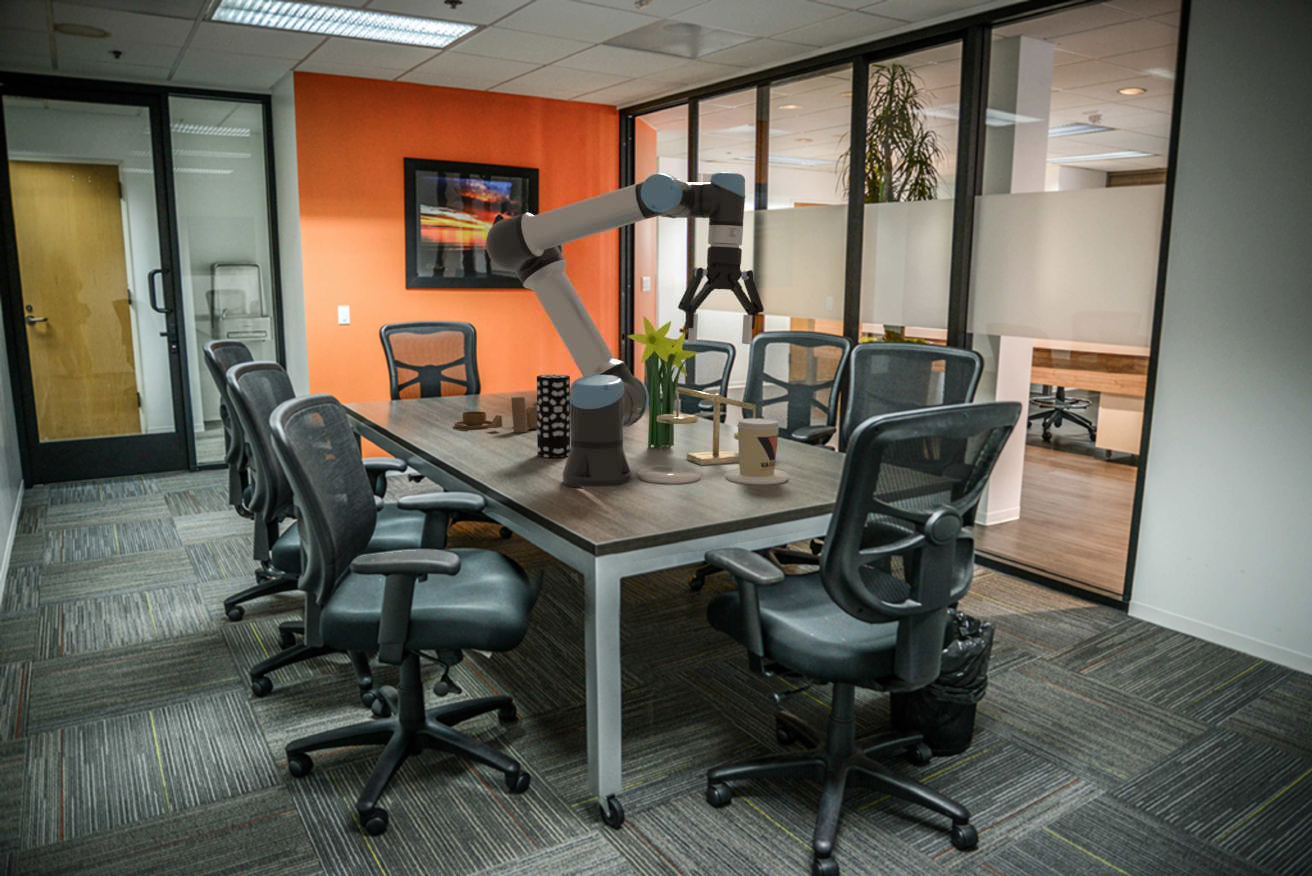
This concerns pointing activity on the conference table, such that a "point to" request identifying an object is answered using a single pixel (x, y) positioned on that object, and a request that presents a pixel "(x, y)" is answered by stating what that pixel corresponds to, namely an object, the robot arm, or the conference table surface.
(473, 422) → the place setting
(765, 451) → the coffee cup
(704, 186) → the robot arm
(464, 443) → the conference table surface
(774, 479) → the dish
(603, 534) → the conference table surface
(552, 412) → the spotted tube
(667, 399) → the daffodil flowers
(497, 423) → the wooden block set
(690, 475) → the disc
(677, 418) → the balance
